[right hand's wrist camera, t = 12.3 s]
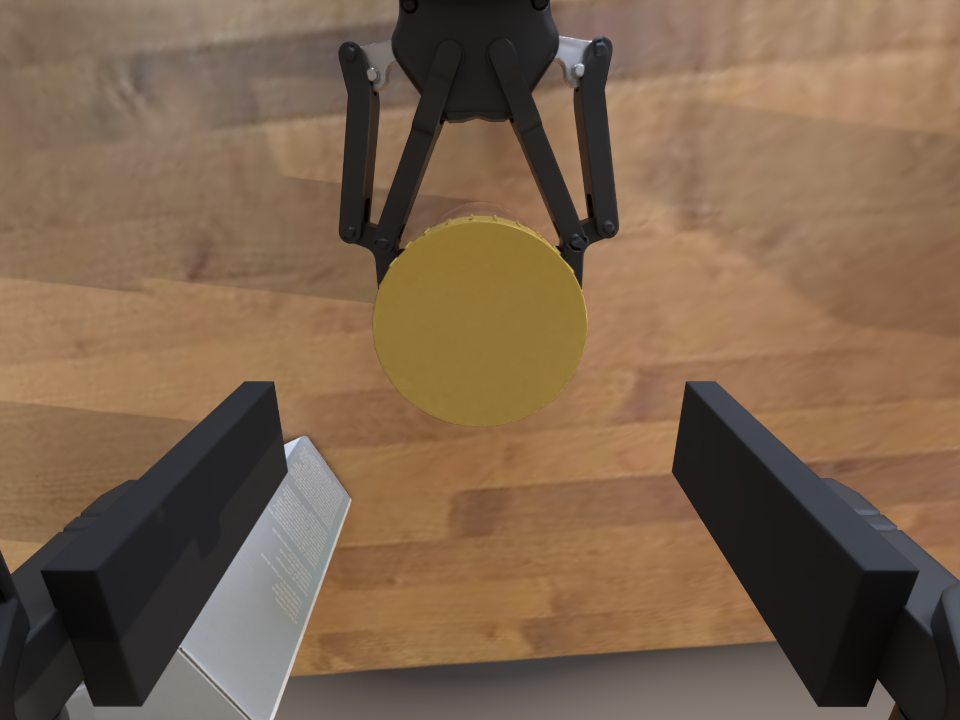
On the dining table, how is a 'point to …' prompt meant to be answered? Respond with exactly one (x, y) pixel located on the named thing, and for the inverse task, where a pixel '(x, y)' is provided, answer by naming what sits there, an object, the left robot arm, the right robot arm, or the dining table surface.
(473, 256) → the lid
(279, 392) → the dining table surface
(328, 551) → the hard drive box
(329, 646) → the dining table surface
